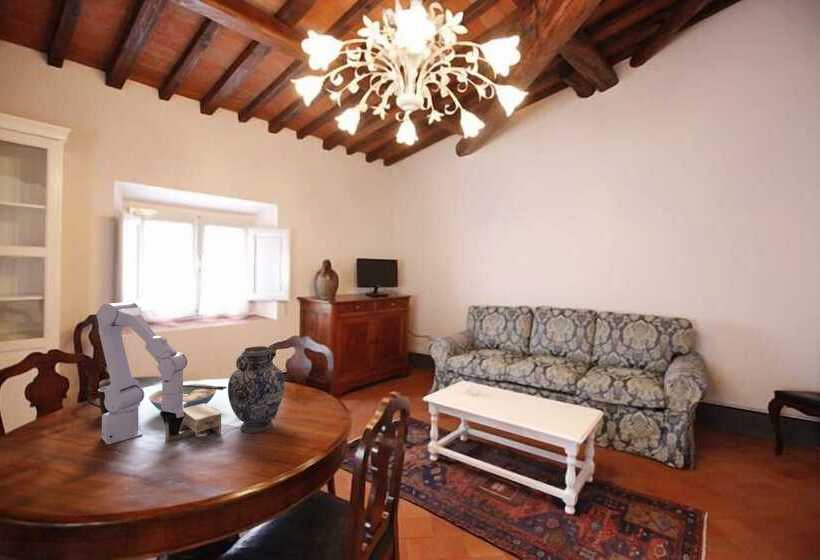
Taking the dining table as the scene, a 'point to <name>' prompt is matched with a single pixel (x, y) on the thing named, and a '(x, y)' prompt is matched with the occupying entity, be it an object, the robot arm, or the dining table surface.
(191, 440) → the dining table surface
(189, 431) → the wood grain brick
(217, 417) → the tan slab
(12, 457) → the dining table surface
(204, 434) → the button
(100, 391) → the coffee mug
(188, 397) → the ramen bowl
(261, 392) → the decorative vase
